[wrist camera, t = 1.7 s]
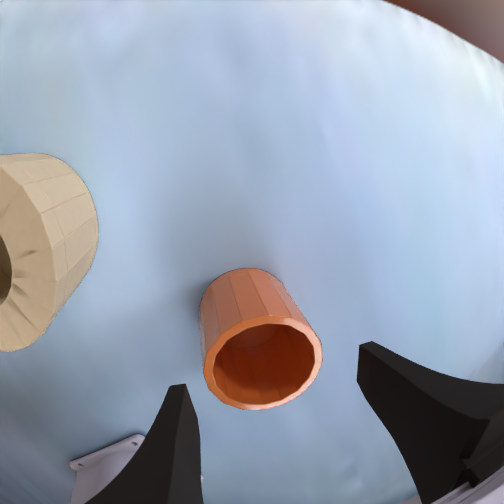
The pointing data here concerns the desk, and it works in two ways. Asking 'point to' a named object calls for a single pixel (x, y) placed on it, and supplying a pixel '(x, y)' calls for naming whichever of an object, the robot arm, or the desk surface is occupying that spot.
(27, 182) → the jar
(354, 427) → the desk surface
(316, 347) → the cup
